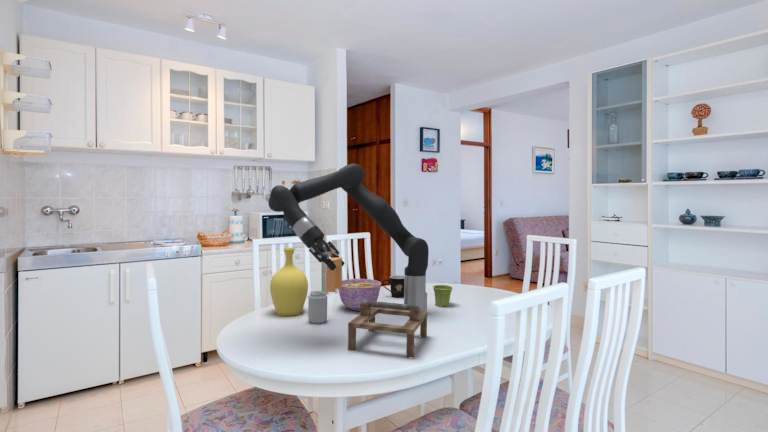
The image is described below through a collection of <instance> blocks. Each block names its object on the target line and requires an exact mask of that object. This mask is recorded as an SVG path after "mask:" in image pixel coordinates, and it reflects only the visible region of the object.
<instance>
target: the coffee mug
mask: <svg viewBox="0 0 768 432" xmlns="http://www.w3.org/2000/svg"><path fill="white" fill-rule="evenodd" d="M384 282H388V283H389V286H390V289H389V288H388V287H386V286H385V285H384ZM381 286H383V288H385V289H386V290H388V291H389V292H390V294H391V295H390V296H391V297H392V298H393V299H404V275H391V276H389V279H384V280H382V282H381Z"/></svg>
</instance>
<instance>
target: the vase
mask: <svg viewBox="0 0 768 432" xmlns="http://www.w3.org/2000/svg"><path fill="white" fill-rule="evenodd" d="M295 250H296V248H295V247H284V248H283V252H284V254H285V264H284V265H283V266H282V267H281V268H280V269H279V270H277V271H276V272H274V274H273V276H272V277H271V280H270V284H269V290H270V295H271V297H270V298H271V300H272V304H273V307H274V310H275V312H276V314H277V315H278V316H281V317H282V316H283V317H291V316H297V315H300V314H302V311H303V309H304V306H305V303H306V299H307V296H308V291H309V283H308V278H307V276H306V274H305V273H304V272H303V271H302V270H301V269H299V268H297V267H296V266H295V264H294V259H293V258H294V253H295Z"/></svg>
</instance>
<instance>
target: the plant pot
mask: <svg viewBox="0 0 768 432" xmlns="http://www.w3.org/2000/svg"><path fill="white" fill-rule="evenodd" d="M432 289H433V292H434V299H435V300H434V302H435V305H436V306H437V307H440V306H442V308H443V307H445V306H447V307H449V306H448V305H450V300H451V294H452V290H453V289H454V287H453V286H450V285H446V284H435V285H433V286H432Z"/></svg>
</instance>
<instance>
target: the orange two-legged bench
mask: <svg viewBox="0 0 768 432" xmlns="http://www.w3.org/2000/svg"><path fill="white" fill-rule="evenodd" d="M330 259H331V260H332V261H333V263H334V264H335V265H336V268H335V269H334V270H333V271H332V270H331V269H330V268H329V267H328V266H327V265H326V264H325V265H326V273H325V274H326V275H325V276H326V279H325V280H326V281H325V283H326V284H325V285H326V287H325V290H326V291H325V292H327V293H335V292H336V290H338V289H342V280H343V276H342V275H343V273H342V272H343V266H342V261H343V258H342V257H340V258H338V257H333V258H331V257H330Z"/></svg>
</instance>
